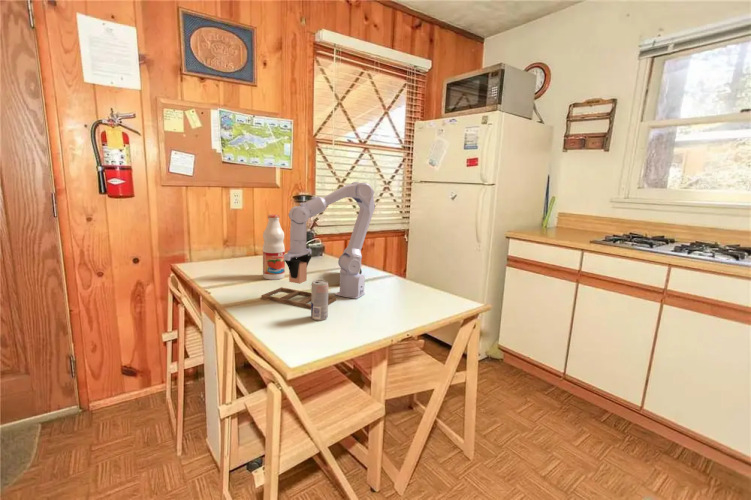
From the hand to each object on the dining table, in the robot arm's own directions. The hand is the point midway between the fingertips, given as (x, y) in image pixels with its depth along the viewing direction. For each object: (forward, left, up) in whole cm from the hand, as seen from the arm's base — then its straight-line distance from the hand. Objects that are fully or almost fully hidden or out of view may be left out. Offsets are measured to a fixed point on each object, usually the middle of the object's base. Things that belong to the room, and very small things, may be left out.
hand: (298, 276), depth 134 cm
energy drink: (-16, +12, -9) cm, 22 cm away
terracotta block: (0, 0, -2) cm, 2 cm away
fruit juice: (+27, -20, -9) cm, 34 cm away
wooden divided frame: (0, 0, -9) cm, 9 cm away
